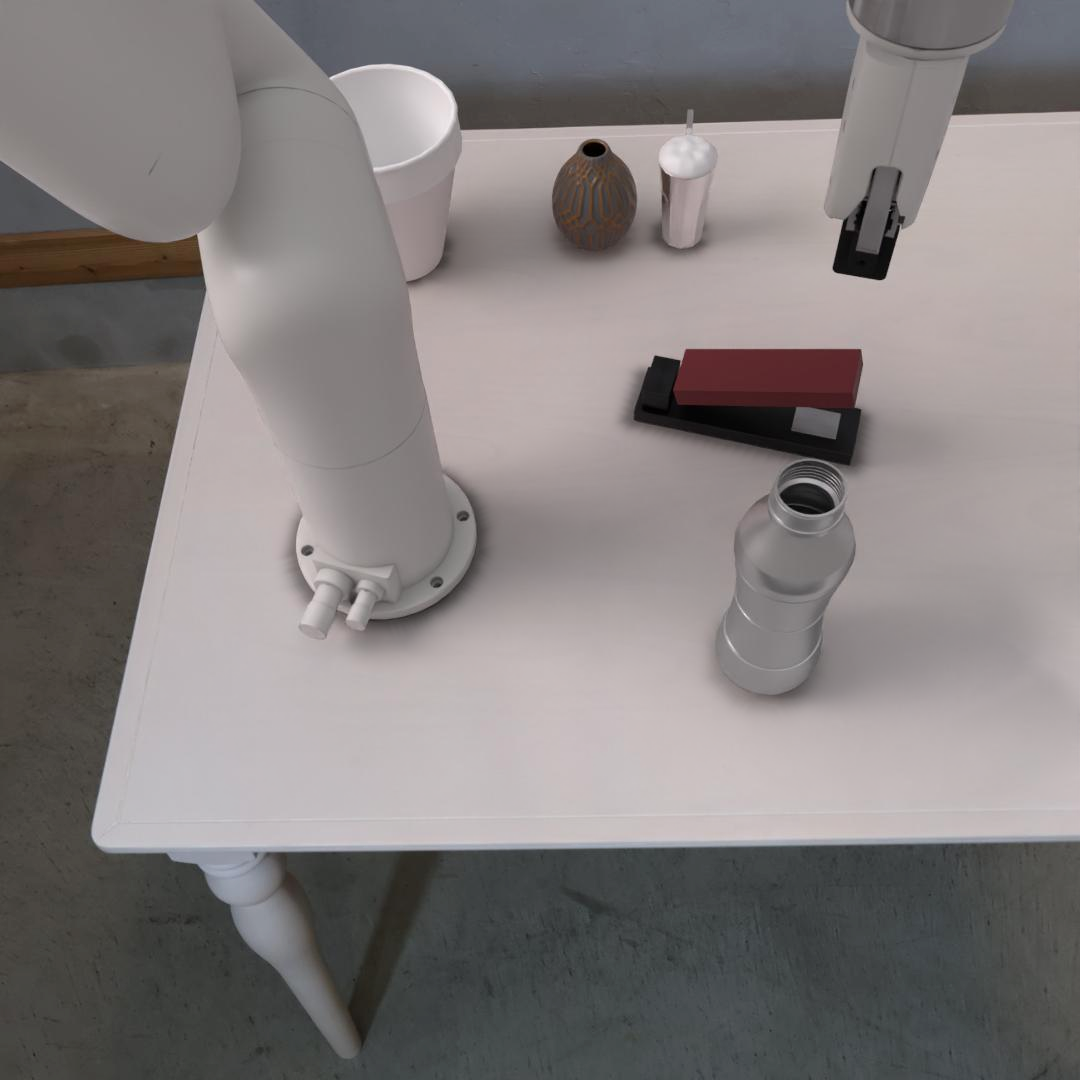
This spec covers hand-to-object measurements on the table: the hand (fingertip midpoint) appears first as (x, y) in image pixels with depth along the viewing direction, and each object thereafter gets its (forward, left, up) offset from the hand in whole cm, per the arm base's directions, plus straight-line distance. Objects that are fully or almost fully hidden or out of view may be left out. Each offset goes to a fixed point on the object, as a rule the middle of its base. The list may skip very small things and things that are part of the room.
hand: (860, 267), depth 68 cm
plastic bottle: (-19, 0, -17) cm, 26 cm away
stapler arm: (0, +4, -12) cm, 13 cm away
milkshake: (+18, +14, -17) cm, 28 cm away
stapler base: (0, +5, -17) cm, 17 cm away
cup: (+10, +36, -17) cm, 41 cm away
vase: (+16, +21, -17) cm, 31 cm away
